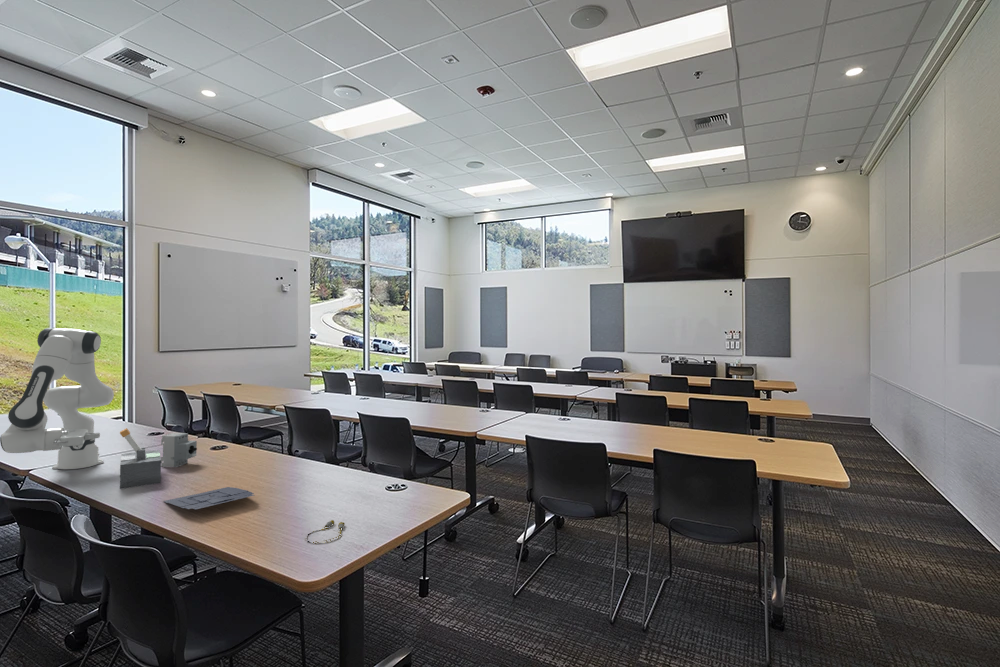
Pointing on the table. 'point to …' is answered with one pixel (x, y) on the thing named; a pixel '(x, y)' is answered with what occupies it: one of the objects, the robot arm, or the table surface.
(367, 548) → the table surface
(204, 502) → the dark blue panel
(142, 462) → the box
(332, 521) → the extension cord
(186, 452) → the circuit breaker
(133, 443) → the lever
